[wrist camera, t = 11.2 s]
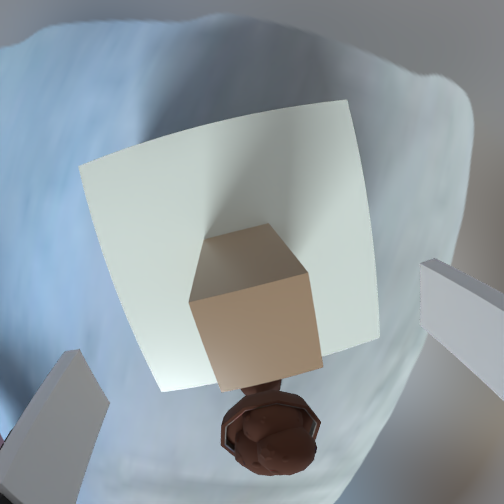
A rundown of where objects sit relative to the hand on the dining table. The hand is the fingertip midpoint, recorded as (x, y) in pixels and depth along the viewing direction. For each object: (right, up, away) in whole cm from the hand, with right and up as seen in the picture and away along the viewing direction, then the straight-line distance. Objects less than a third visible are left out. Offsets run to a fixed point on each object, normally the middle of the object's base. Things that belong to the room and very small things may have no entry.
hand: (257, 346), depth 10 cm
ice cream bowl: (+1, -14, +28) cm, 31 cm away
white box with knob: (-2, +6, +22) cm, 23 cm away
